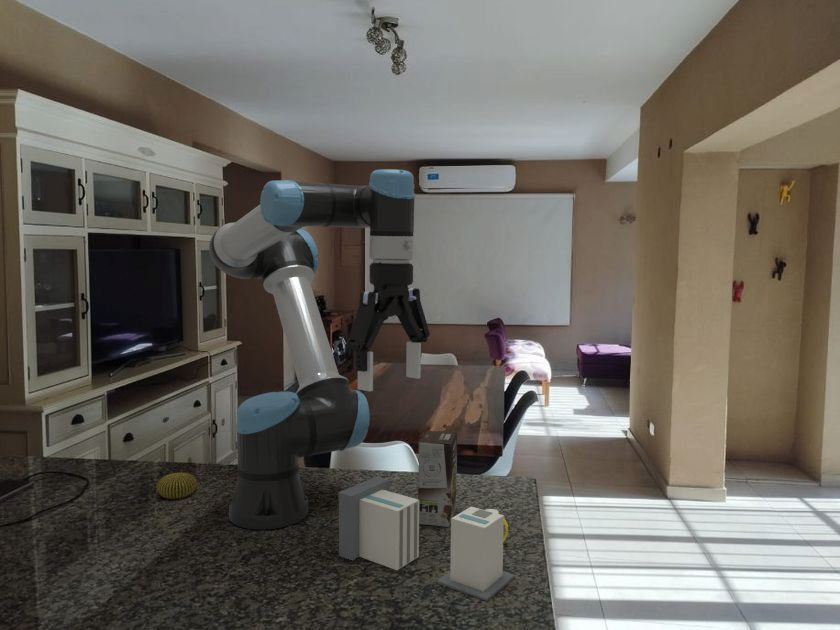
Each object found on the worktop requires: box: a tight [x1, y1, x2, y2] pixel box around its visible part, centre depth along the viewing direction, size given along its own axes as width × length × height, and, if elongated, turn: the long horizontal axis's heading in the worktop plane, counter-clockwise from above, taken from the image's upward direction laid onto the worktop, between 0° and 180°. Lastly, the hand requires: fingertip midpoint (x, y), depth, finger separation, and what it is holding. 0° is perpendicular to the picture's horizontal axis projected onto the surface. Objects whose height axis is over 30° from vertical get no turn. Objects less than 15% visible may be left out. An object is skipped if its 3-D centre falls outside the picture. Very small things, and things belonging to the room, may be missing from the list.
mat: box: [436, 570, 516, 602], centre depth 105 cm, size 9×9×1 cm
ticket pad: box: [337, 475, 420, 571], centre depth 113 cm, size 12×10×11 cm
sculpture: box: [156, 472, 198, 500], centre depth 140 cm, size 8×4×8 cm
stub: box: [449, 506, 505, 591], centre depth 104 cm, size 6×6×10 cm
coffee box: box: [417, 430, 458, 528], centre depth 129 cm, size 9×6×16 cm
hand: (390, 383), depth 116 cm, fingers open, 13 cm apart
